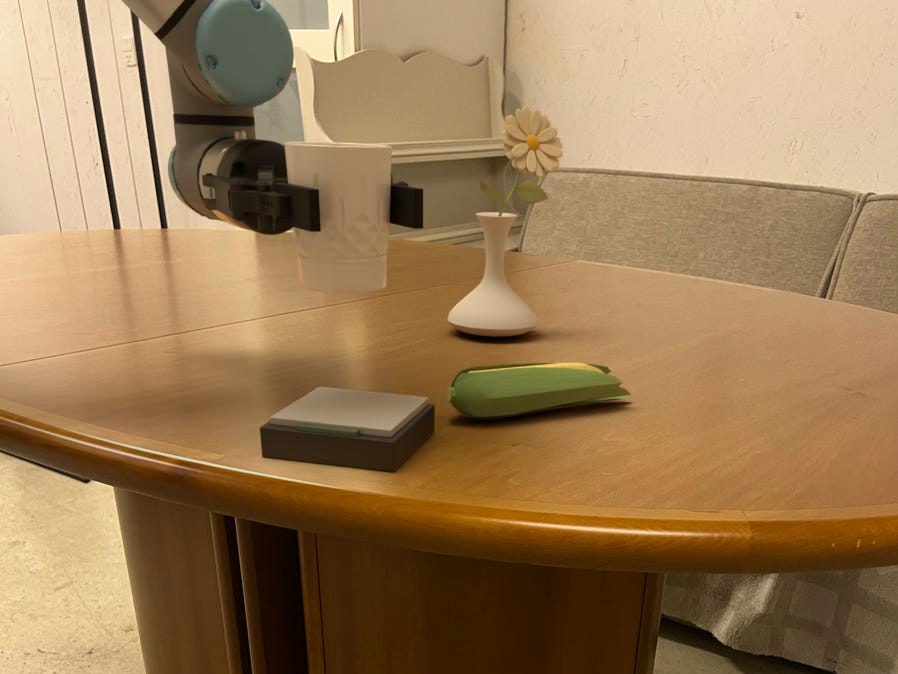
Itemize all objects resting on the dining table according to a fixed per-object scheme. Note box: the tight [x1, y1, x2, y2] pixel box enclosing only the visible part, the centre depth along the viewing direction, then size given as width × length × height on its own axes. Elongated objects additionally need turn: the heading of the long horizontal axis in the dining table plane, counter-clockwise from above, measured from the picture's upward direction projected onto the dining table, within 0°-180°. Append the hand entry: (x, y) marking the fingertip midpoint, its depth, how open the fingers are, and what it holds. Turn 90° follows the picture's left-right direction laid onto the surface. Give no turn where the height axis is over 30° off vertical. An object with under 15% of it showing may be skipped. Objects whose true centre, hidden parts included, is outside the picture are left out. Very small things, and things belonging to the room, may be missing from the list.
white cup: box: [283, 141, 393, 294], centre depth 71 cm, size 8×8×10 cm
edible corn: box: [444, 362, 632, 420], centre depth 86 cm, size 5×20×5 cm, turn 118°
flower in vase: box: [446, 106, 563, 338], centre depth 111 cm, size 13×11×25 cm
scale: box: [259, 386, 436, 473], centre depth 76 cm, size 11×11×3 cm
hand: (368, 209), depth 67 cm, fingers closed on white cup, 8 cm apart
